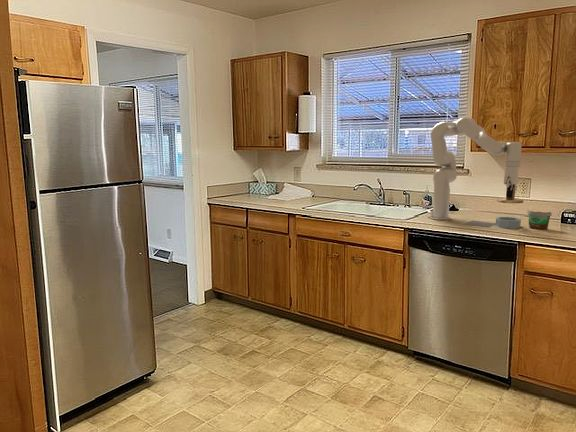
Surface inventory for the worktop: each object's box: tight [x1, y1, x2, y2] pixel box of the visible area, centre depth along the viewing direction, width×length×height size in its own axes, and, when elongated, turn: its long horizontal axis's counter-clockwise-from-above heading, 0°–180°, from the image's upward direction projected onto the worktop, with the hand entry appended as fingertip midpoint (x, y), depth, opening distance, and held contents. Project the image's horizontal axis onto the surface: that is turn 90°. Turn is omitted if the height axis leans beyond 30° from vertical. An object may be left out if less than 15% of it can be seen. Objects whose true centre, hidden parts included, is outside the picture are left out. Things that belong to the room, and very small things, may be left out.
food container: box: [527, 209, 553, 231], centre depth 263 cm, size 12×6×10 cm, turn 56°
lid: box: [496, 186, 524, 204], centre depth 266 cm, size 14×14×8 cm
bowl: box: [495, 216, 522, 229], centre depth 269 cm, size 12×12×5 cm
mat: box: [463, 220, 496, 228], centre depth 277 cm, size 15×15×1 cm
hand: (510, 196), depth 266 cm, fingers closed on lid, 3 cm apart
